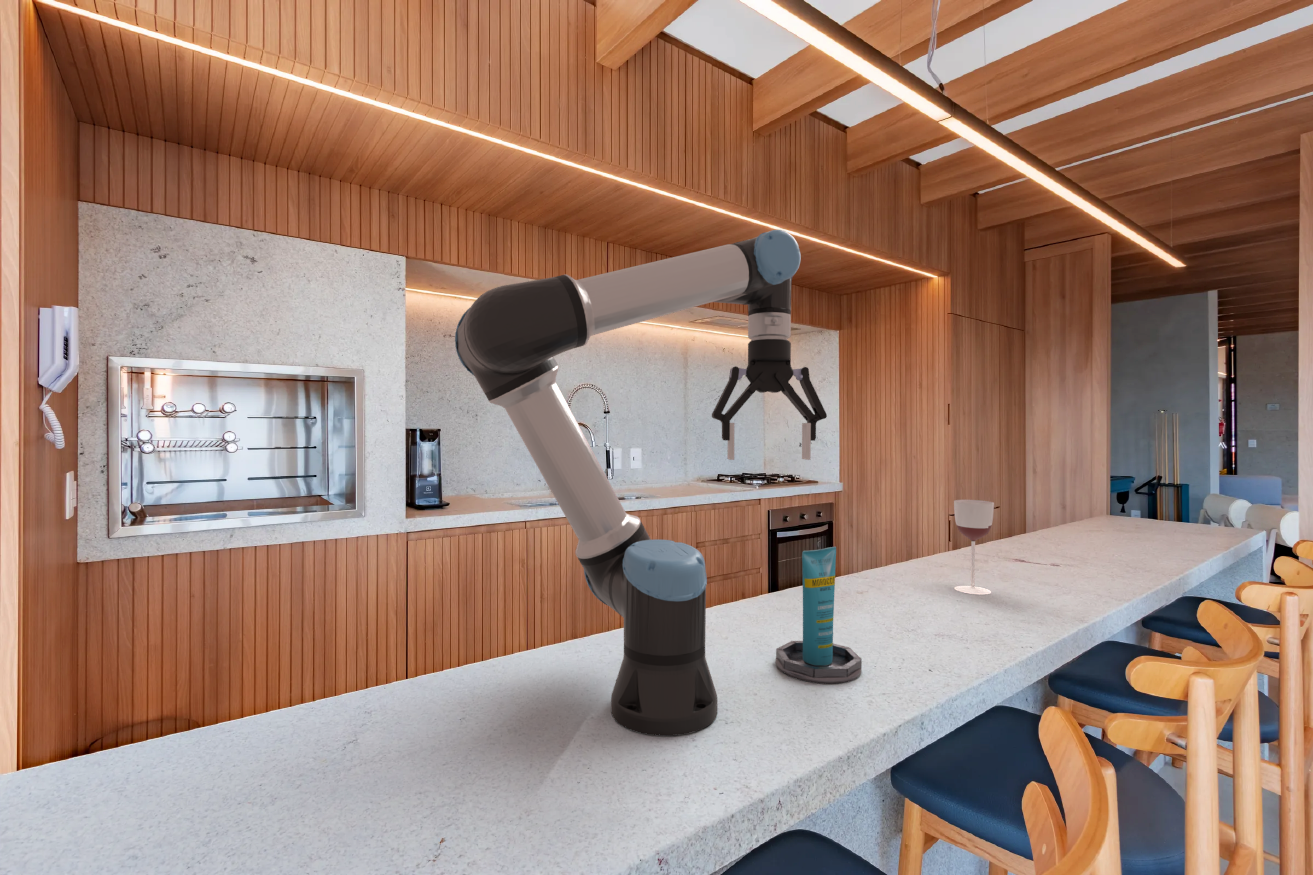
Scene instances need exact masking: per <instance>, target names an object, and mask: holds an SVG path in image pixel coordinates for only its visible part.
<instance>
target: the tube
mask: <svg viewBox="0 0 1313 875" xmlns="http://www.w3.org/2000/svg"><path fill="white" fill-rule="evenodd" d="M836 556H837V546H832V547H831V546H830V547H826V548H821V549H812V550H803V551H802V552H801V562H802V563H801V565H802V573H801V574H802V641H803V660H804V661H805V662H806V663H808V664H811V665H815V666H827V665H830V664H831V663H832V657H833V643H834V641H833V640H834V616H835V614H834V613H835V611H834V609H835V590H836V588H835V586H836V585H835V584H836V562H837V561H836V560H837V559H836Z"/></svg>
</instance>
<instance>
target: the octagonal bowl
mask: <svg viewBox="0 0 1313 875" xmlns="http://www.w3.org/2000/svg"><path fill="white" fill-rule="evenodd" d="M775 653H776V654H775V666H776V668H777V669H778V671H780V672H781V673H783V674H784V675H786V676H788V677H790V678H793V679H795V680H798V681H803V682H807V683H813V684H820V685H821V684H822V685H836V684H837V685H838V684H845V683H846V684H847V683H850V682H853V681H855V680H857V679H858V678H859V677H860V676H861V675H862V664H863V663H862V662H863V661H862V657H860V656H859V655H858V654H857V652H856V651H854V650H853V649H852V648H851V647H850V646H845V645H841V644H837V643H834V642H833V657H832V663H831V664H830V665H827V666H815V665H811V664H808V663H806V662H805V661H804V660H803V640H791V641H789V642H787V643H784V644H782V645H781V646H779V647H777V648H776V649H775Z"/></svg>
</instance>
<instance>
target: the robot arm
mask: <svg viewBox="0 0 1313 875" xmlns="http://www.w3.org/2000/svg"><path fill="white" fill-rule="evenodd" d="M799 247H800V246H799V243H798V242H797V240H796V239H795V237H794V236H793V235H792V234H790V233H789V232H787V231H785V230H784V229H783V230H782V229H772V230H770V231H766V232H762V233H760V234H758V236H756V237H753V238H750V239H745V240H741V241H737V242H733V243H730V244H729V243H728V244H724V245H720V246H716V247H712V248H707V249H703V250H698V251H694V252H689V253H684V254H681V255H677V256H674V257H669V258H665V259H664V258H663V259H661V260H656V261H652V262H648V263H643V264H639V265H635V266H631V267H627V268H626V267H625V268H622V269H617V270H614V271H609V272H605V273H601V274H597V275H591V276H587V277H584V278H580V279H574V277H572V276H570V275H569V274H561V275H557V276H551V277H548V278H547V277H546V278H541V279H535V280H531V281H529V280H528V281H522V282H516V283H511V284H505V285H500V286H497V287H494V288H492V289H489V290H487V291H484V292H483V293H482V294H481V295H480V296H478V297H477V299H475V300H474V302H473V303H472V304H471V305H470V307H469V308H467V310H466V311H465V312H464V313H463V314H462V316H461V317H460V320H458V323H457V325H456V330H455V333H454V334H455V335H454V342H455V344H454V345H455V350H456V355H457V357H458V360H459V361H460V363H461V365H462V366H463V367H464V368H465V369H466V371H468V373H470V374H471V375H472V376H473V377H474V378H475V380H476V382H477V383H478V384H479V386H480V388H481V390H482V391H483V393H484V395H485V397H486V398H487V401H488V402H489V403H490V404H494V405H496V406H500V407H502V408H503V409H504V410H505V412H506V413H507V414H508V416H509V418H510V420H511V422H512V424H513V426H514V428H515V429H516V431H517V433H518V435H519V437H521V439H522V441H523V442H522V443H524V445H525V447H526V449H527V451H528V452H529V454H530V456H531V457H532V459H533V461H534V463H535V465H536V467H537V468H538V469H539V472H540V474H541V475H542V477H543V479H544V480H545V482H546V484H547V486H548V488H549V489H550V491H551V494H552V495H553V497H554V498H555V500H556V502H557V503H558V506H559V507H560V509H561V511H562V513H563V514H564V516H565V519H566V520H567V522H568V524H569V525H570V526H571V528H572V530H573V532H574V534H575V536H576V537H577V539H578V542H577V545H576V549H575V553H574V554H575V556H576V558H577V559H578V561H579V563H580V565H581V566H582V568H583V574H584V578H585V581H586V583H587V586H588V588H589V590H590V591H591V593H592V594H593V595H594V596H595V597H596V598H597V600H598V601H600V602H601V603H602V604H604V605H607V606H608V607H609V608H610V609H612V610H613V611H615V612H616V613H617V614H618V615H620V616H621V617H622V618H623V658H622V661H621V663H620V664H621V665H620V667H619V670H618V674H617V677H616V680H615V682H614V683H615V684H614V686H613V690H612V692H611V697H610V698H611V699H610V700H611V702H610V703H611V704H610V707H611V709H610V711H611V716H612V718H613V720H615V722H616V723H617V724H618V725H621V726H622V727H623V728H625V729H628V730H630V731H633V732H636V733H638V734H639V733H640V734H643V735H644V734H645V735H649V736H662V737H663V736H664V737H665V736H668V737H669V736H670V737H671V736H681V735H687V734H692V733H694V732H697V731H700V730H702V729H705V728H707V727H708V726H710V725H711V724H712V723H714V721H715V720H716V718H717V715H718V694H717V690H716V688H715V685H714V681H713V678H712V674H711V671H710V668H709V665H708V662H707V657H706V614H707V613H706V612H707V611H706V606H707V605H706V604H707V603H706V602H707V599H706V598H707V592H706V591H707V589H706V588H707V584H708V578H707V576H708V575H707V571H706V561H705V559H704V556H703V554H702V553H701V551H700V550H698V549H697V548H695V547H694V546H692V545H690V544H687V543H684V542H675V540H670V539H652V538H651V537H650V535H649V534H648V532H647V530H646V528H645V526H644V524H643V522H642V521H641V519H640V517H639V516H637V515H633V514H629V513H627V512H626V511H625V509H624V507H623V505H622V503H621V501H620V500H619V497H618V496H617V493H616V491H615V490H614V488H613V487H612V485H611V482H610V481H609V479H608V477H607V475H606V473H605V471H604V469H603V468H602V466H601V464H600V462H599V460H598V458H597V457H596V454H595V453H594V451H593V449H592V447H591V445H590V444H589V441H588V439H587V438H586V435H585V434H584V432H583V430H582V429H581V427H580V425H579V423H578V421H577V419H576V417H575V416H574V413H573V411H572V410H571V408H570V406H569V404H568V402H567V400H566V399H565V397H564V394H563V393H562V391H561V389H560V388H559V386H558V384H557V381H556V380H557V375H558V371H559V368H560V366H559V365H558V362H557V361H556V358H555V357H556V356H557V355H560V354H562V353H566V352H567V351H570V350H573V349H577V348H581V347H584V346H586V345H587V344H588V342H589V340H590V338H591V336H595V335H600V334H602V333H606V332H609V331H614V330H616V329H621V328H624V327H627V326H628V327H629V326H632V325H635V324H638V323H642V322H645V321H649V320H653V319H656V318H660V317H664V316H666V315H670V314H671V315H672V314H674V313H678V312H682V311H685V310H688V309H692V308H696V307H698V306H703V305H706V304H709V303H710V304H711V303H720V304H722V303H723V304H735V305H744V306H747V312H748V313H747V316H748V320H747V322H748V324H747V326H748V327H747V328H748V329H747V331H748V332H747V338H748V339H749V340H750V341H749V342H748V343H747V366H746V368H742V367H741V368H740V367H738V366H733V367H731V368H730V371H729V375H728V376H729V377H728V381H727V383H726V385H725V387H724V389H723V391H722V393H721V395H720V397H719V399H718V401H717V403H716V405H715V407H714V409H713V411H712V413H711V418H712V419H714V420H717V421H719V422H720V423H721V440H722V441H727V459H728V460H731V461H734V460H735V422H731V420H732V419H733V418H734V417H735V416H736V414H737V413H738V412H739V411H740V410H741V408H742V407H743V406H744V405H745V404H746V402H747V401H748V400H749V399H750V397H751V396H753V394H754V393H755V392H758V393H761V394H762V393H768V392H769V393H772V394H776V393H777V394H778V393H780V392H781V393H782V394H783V395H785V397H786V398H787V399H788V400H789V401H790V403H791V404H792V405H793V406H794V407H795V409H796V410H797V411H798V412H799V414H800V415H801V416H802V418H804V420H805V421H806V422H802V424H801V459H802V460H807V461H809V460H811V451H812V450H811V449H812V448H811V445H812V444H811V441H812V442H813V441H816V438H817V423H818V422H819V421H822V420H824V419H827V416H828V415H827V414H828V413H826V410H825V408H824V406H823V404H822V401H821V399H820V397H819V396H818V394H817V391H816V389H815V387H814V386H813V383H812V380H811V379H810V378H811V376H810V370H809V367H807V366H804V367H801V368H800V367H799V368H794V369H793V367H792V365H791V362H792V360H791V359H792V358H791V357H792V356H791V355H792V343H791V342H790V340H789V339H790V338H791V336H792V333H791V332H792V329H791V328H792V323H791V322H792V320H791V319H792V318H791V316H792V280H793V277H794V276H795V274H796V273H797V271H798V269H799V268H800V264H801V257H802V256H801V251H800V248H799ZM743 376H745V377H746V378H747V380H748V381H749V384H748V385H747V386H746V387H745V389H744V391H743V392H742V393H741V394H740V395H739V396H738V397H737V399H736V400H735V401H734V402H733V403H732V404H731V406H730V407H729V408H728V409H727V411H725V413H723V412H724V409H725V407H726V405H727V403H728V401H729V400H730V398H731V395H732V393H733V391H734V389H735V387H736V385H737V383H738V381H740V380H742V378H743ZM793 376H794V378H795V380H797V381H799V383H800V386H801V388H802V390H803V393H804V394H805V397H806V399H807V400H808V403H809V406H810V407H808V405H807V404H806V403H805V401H804V400H803V399H802V398H801V397H800V395H799V394H798V393H797V392H796V390H795V388H794V387H793V385H792V384H790V381H791V379H792V378H793ZM810 408H811V409H812V410H811V409H810ZM812 411H813V412H812Z"/></svg>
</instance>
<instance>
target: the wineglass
mask: <svg viewBox="0 0 1313 875" xmlns="http://www.w3.org/2000/svg"><path fill="white" fill-rule="evenodd" d="M953 509H954V510H953V512H954V521H955V525H956V528H957V530H958V531H959V532H960V533H961V534H962V535H963V536H964V537H965V538H967V539H969V540H970V541H971V549H970V551H971V552H970V553H971V554H970V555H971V556H970V585H958V586H954V590H956V591H957V592H960V593H965V594H970V595H980V596H981V595H990V594H992V591H991V590H990V589H987V588H984V587H980V586H975V585H976V583H975V580H976V578H975V577H976V576H975V574H976V572H975V571H976V541H977V540H979V539H982V538H984V537H985V536H987V535H988V534H989V533H990V531H991V529H992V525H993V521H994V520H993V519H994V511H995V502H993V501H990V500H989V501H987V500H979V499H956V500H953Z"/></svg>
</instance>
